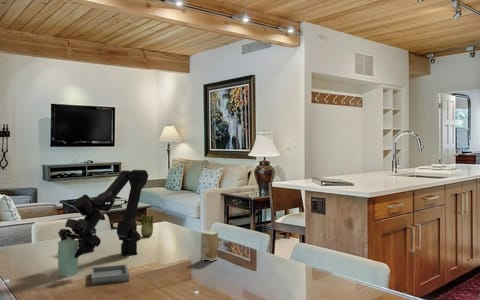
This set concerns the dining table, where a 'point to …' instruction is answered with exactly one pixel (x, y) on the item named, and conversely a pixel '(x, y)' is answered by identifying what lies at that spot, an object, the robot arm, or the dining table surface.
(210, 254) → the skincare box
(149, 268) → the dining table surface
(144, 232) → the fennel bulb
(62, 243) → the teal block
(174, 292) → the dining table surface
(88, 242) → the robot arm
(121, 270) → the box
